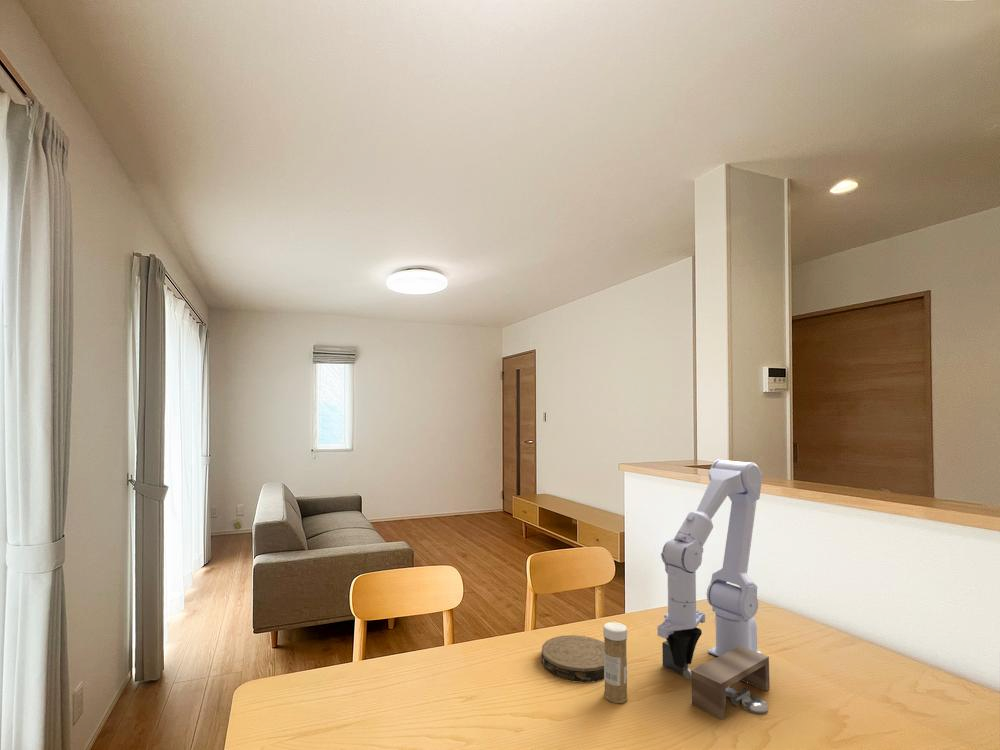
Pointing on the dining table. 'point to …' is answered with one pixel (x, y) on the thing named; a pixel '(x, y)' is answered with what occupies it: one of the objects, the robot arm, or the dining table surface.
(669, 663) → the blade tool
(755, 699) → the steel token
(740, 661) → the walnut shelf
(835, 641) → the dining table surface
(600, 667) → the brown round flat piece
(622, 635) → the sprinkles bottle
